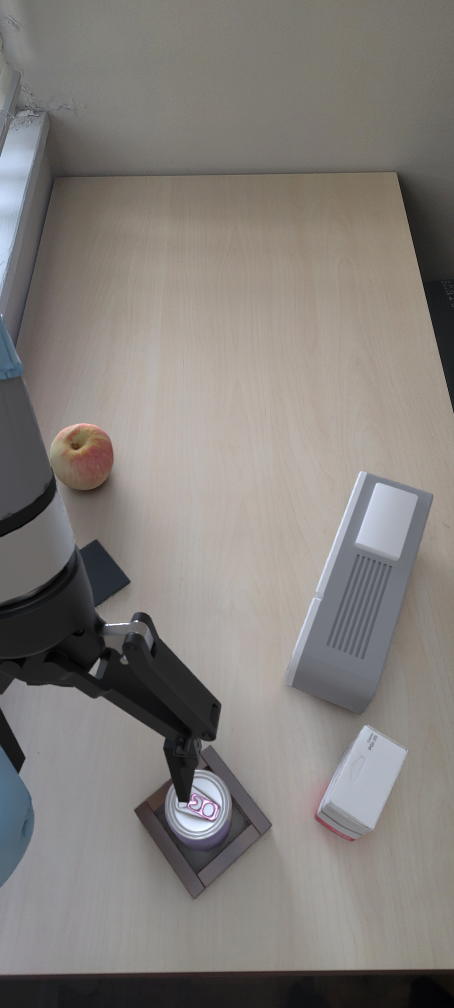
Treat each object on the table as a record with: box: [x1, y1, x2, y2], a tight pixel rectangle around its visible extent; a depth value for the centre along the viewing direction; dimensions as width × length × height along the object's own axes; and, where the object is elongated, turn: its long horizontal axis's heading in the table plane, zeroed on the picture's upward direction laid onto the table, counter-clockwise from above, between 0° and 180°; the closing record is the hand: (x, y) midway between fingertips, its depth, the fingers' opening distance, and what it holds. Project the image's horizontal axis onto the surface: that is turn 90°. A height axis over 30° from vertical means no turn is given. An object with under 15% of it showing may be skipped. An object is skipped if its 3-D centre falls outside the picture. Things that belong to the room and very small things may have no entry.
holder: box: [133, 744, 273, 900], centre depth 67 cm, size 10×10×4 cm
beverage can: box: [164, 770, 233, 853], centre depth 62 cm, size 6×6×15 cm
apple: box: [49, 422, 115, 491], centre depth 89 cm, size 9×9×8 cm
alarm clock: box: [284, 470, 434, 715], centre depth 76 cm, size 27×9×12 cm, turn 157°
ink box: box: [314, 724, 409, 842], centre depth 65 cm, size 9×5×12 cm, turn 148°
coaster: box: [79, 538, 131, 608], centre depth 83 cm, size 8×8×1 cm
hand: (98, 779), depth 48 cm, fingers open, 13 cm apart
